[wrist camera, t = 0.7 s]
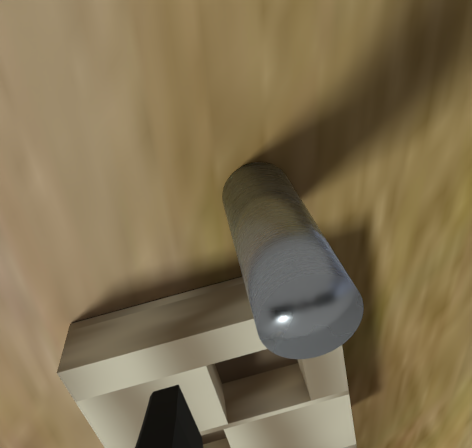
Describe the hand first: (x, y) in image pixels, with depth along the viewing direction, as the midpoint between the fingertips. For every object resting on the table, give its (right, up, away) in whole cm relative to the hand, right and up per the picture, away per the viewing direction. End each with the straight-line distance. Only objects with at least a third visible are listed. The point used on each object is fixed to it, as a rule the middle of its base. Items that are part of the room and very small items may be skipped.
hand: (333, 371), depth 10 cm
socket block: (-3, -5, +14) cm, 15 cm away
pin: (-1, +5, +9) cm, 10 cm away
